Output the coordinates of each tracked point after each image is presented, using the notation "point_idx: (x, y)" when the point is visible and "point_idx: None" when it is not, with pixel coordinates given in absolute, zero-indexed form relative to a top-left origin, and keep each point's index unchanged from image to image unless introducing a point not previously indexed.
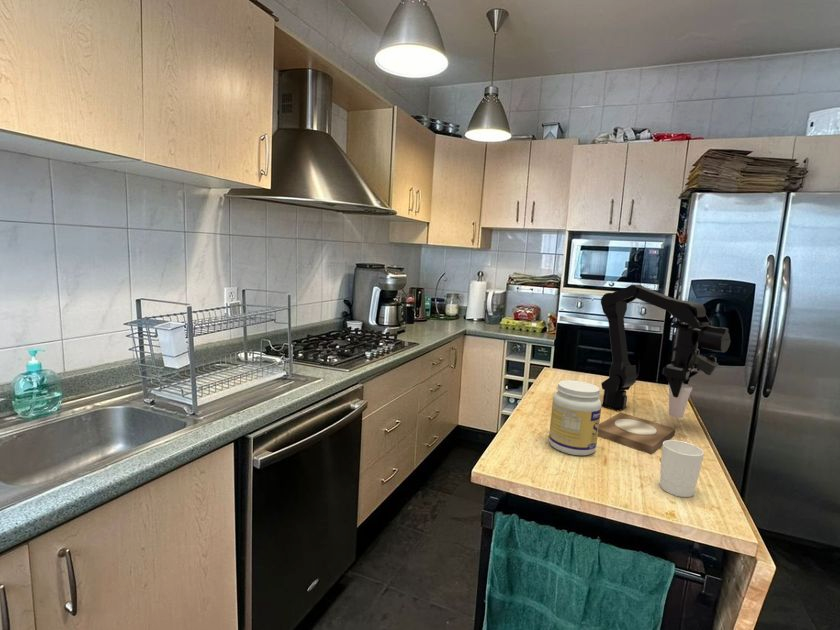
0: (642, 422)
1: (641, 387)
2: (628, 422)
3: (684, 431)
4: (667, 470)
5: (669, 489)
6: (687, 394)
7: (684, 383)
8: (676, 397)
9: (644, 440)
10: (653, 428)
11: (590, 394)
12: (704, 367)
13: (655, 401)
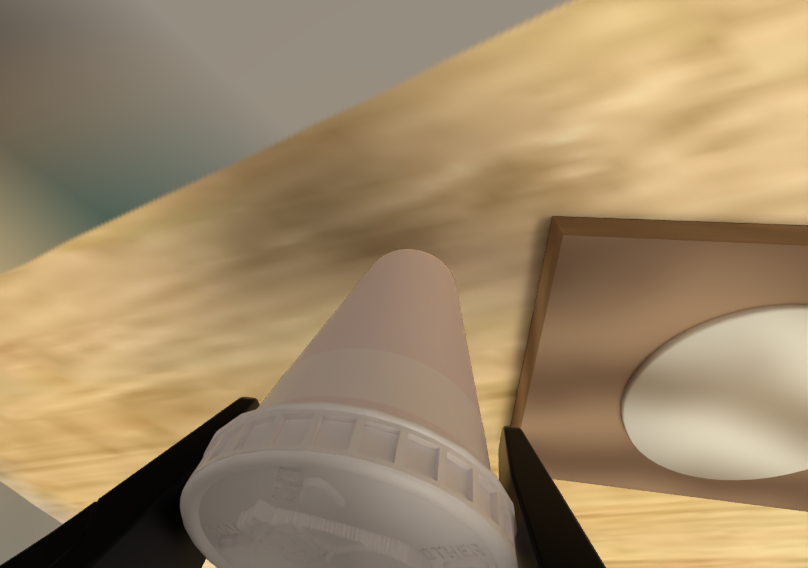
0: (640, 392)
1: (12, 443)
2: (701, 438)
3: (413, 190)
4: None
5: None
6: (421, 390)
7: (172, 528)
8: (518, 431)
9: None
10: (729, 333)
11: None
12: None
13: (104, 383)
